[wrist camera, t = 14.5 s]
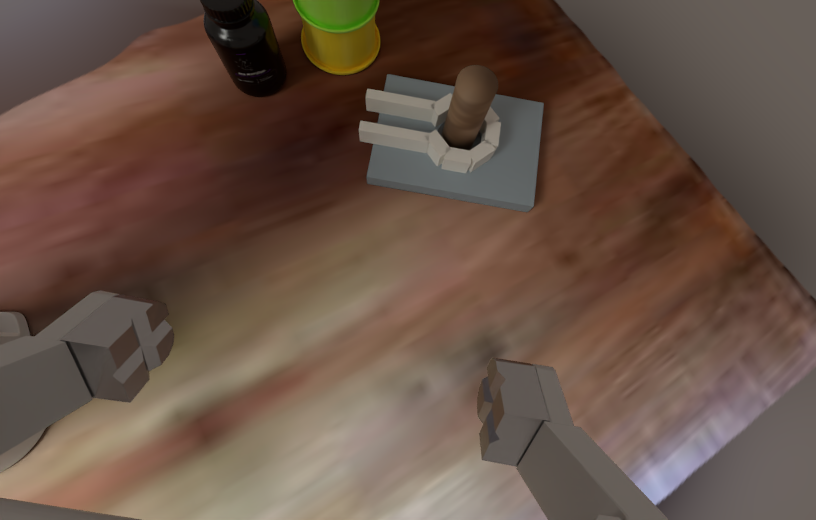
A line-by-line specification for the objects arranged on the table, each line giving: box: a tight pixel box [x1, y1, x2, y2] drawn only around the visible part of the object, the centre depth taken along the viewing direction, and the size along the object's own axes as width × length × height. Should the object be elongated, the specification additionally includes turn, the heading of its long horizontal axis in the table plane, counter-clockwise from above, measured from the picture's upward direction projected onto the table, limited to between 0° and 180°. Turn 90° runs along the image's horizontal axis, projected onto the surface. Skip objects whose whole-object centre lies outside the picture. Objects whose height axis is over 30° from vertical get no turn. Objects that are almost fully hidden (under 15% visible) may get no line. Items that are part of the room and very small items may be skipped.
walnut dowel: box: [441, 65, 498, 150], centre depth 41 cm, size 4×4×10 cm
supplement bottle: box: [200, 0, 287, 97], centre depth 42 cm, size 7×7×12 cm
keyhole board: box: [359, 74, 544, 212], centre depth 45 cm, size 22×14×4 cm, turn 81°
